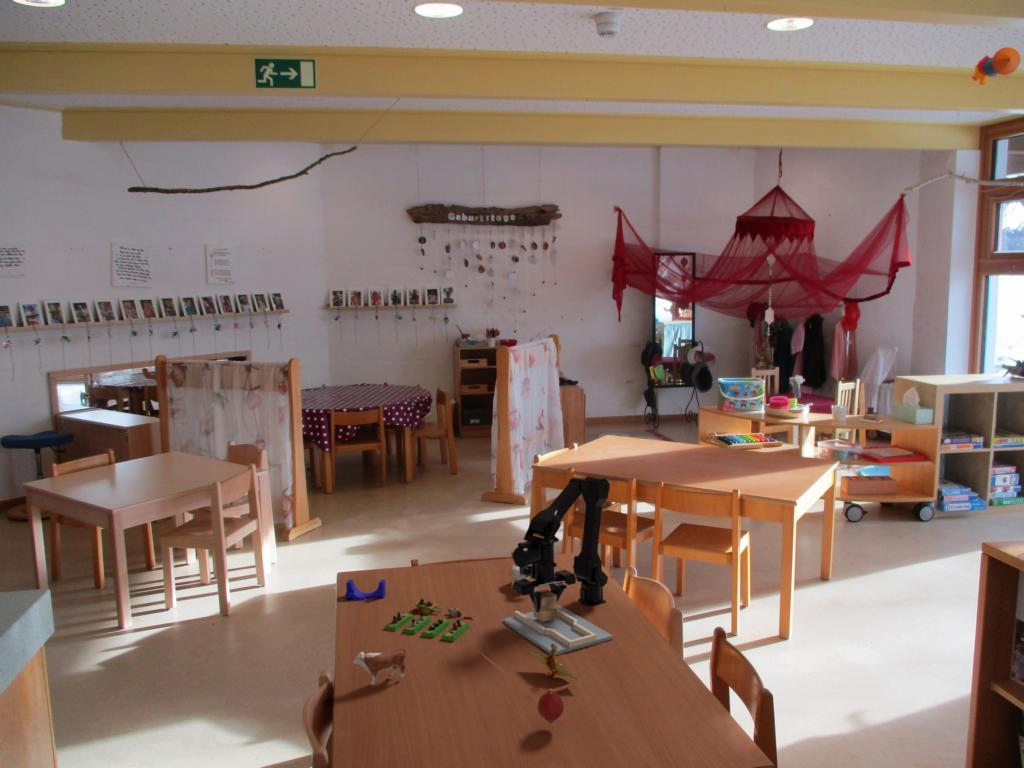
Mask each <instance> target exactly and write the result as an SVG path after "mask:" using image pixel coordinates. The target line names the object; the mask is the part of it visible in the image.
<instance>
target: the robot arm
mask: <svg viewBox="0 0 1024 768" xmlns="http://www.w3.org/2000/svg"><path fill="white" fill-rule="evenodd" d="M610 488H611V485H610V482H609V481H608V479H607V478H603V477H598V476H595V475H594V476H592V475H587V476H585V478H583V477H576V476H575V477H574V476H573V477H571V478H570V479H569V481H568V484H567V485H566V486H565V487H564V488H563V490H562V491H561V492H560V493H559V494H558V496H557V497H556V498H555V499H554V501H552V503H551V504H550V505H549V506H548V507H547V508H545V509H543V510H540V511H539V512H538V513H536V514H535V515H534V516H533V517H532V519H531V520H530V523H529V526H528V528H527V529H526V532H525V534H524V537H523V540H524V542H522V541H521V542H518V543H517V547H516V548H515V549H514V550H513V553H512V559H513V562H514V564H515V565H516V567H519V571H520V574H521V575H525V576H526V577H529V578H530V579H532V580H531V581H530V580H526V579H521V580H518V579H517V580H516V581H514V583H513V586H512V591H514V592H516V593H517V594H519V595H521V596H529V598H530V600H531V602H532V604H533V605H534V608H535V610H536V612H537V613H539V610H540V599H541V593H540V592H539V591H540V590H539V587H544V586H548V585H549V588H550V591H551V592H552V593H554V594H556V595H557V603H558V601H559V599H561V595H562V594H563V593H564V591H565V589H567V588H568V586H570V585H575V584H576V582H577V583H579V582H580V588H579V598H578V599H577V600H578V601H579V602H580V603H582V604H584V605H586V606H588V607H593V606H597V605H601V604H605V603H607V601H606V600H605V599H604V587H605V586H606V585H607V584H608V579H609V577H608V576H607V574H606V573H605V572H604V570H602V569H603V567H602V565H603V564H602V559H601V557H600V555H599V552H598V551H599V549H598V548H599V540H600V539H599V538H600V532H601V531H600V530H601V520H602V519H601V518H602V509H603V505H604V504H605V503H606V501H607V500H608V498H609V494H610ZM580 496H582V498H583V502H584V503H585V508H584V509H585V510H584V521H583V530H582V531H583V532H582V533H583V534H582V541H581V550H580V552H579V553H578V555H575V556H574V558H573V566H572V570H573V572H572V571H569V570H567V569H562V570H557V571H555V568H557V563H556V562H555V543H557V542H559V541H560V538H559V537H557V536H556V534H557V533H558V531H559V530H560V528H561V526H562V519H563V518H564V516H565V515H566V513H567V512H568V511H569V510H570V509H571V507H573V505H574V504H575V502H576V501H577V500H578V499H579V497H580ZM535 535H536V536H535ZM531 564H532V565H531ZM528 565H530V566H528ZM567 585H568V586H567ZM533 605H532V606H533Z"/></svg>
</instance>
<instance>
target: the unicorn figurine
mask: <svg viewBox="0 0 1024 768" xmlns="http://www.w3.org/2000/svg"><path fill="white" fill-rule="evenodd" d="M531 565H532V564H531ZM528 566H530V565H528ZM509 570H510V576H511V584H510V585H511V586H512V587H513V583H514V582H515V581H517V580H521V579H526V580H528V581H530V580H529V579H530V576H529V577H526V576H525V575H521V574H520V571H519V567H518V566H515V565H514V564H513V565H512V566H510V569H509Z"/></svg>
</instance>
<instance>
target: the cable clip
mask: <svg viewBox="0 0 1024 768" xmlns="http://www.w3.org/2000/svg"><path fill="white" fill-rule="evenodd" d="M345 587H346V589H345V590H346V592H345V594H344V595H345V601H348V600H350V598H351V600H352V601H365V600H366V599H378V598H379V597H381V598H382V599H384V598H385V597H386V595H387V594H386V579H380V580H379V581H378V586H377V589H375V590H374V591H372V592H363V591H361V590H360V589H358V588H357V587H356V585H355V582H354V580H353V579H347V581H346V583H345Z"/></svg>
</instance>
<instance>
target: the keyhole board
mask: <svg viewBox="0 0 1024 768" xmlns="http://www.w3.org/2000/svg"><path fill="white" fill-rule="evenodd" d="M502 622H503V623H504V624H506V625H507V626H508V627H510V628H511V629H512V630H514V631H515V632H517V633H518V634H519V635H521V636H522V637H525V639H527V640H529V641H530V642H531V643H533V644H534V645H536V646H537V647H539V648H540V649H543V650H544V651H545V652H546V653H548V655H549V654H550V651H551V649H552V648H551V644H552V643H554V644H556V646H558V647H557V651H556V653H555V655H554V657H555V656H558V655H562V654H566V653H568V652H569V653H570V652H572V651H575V650H580V649H582V648H585V647H590V646H593V645H597V644H600V643H603V642H607V641H611V640H613V639H614V635H612V634H611V633H609V632H608V631H605V630H604V629H602V628H600V627H598V626H596V625H595V624H593V623H592V622H590V621H588V620H587V619H584V618H582V617H581V616H579V615H577V614H576V613H574V612H573V611H570V610H569V609H566V608H565V607H563V606H561V605H558V604H557V618H555V619H552V620H548V621H544V622H542V621H541V620H539V619H537V618H536V617H534V611H531V612H530V611H529V612H526V613H525V612H524V613H523V612H520V611H519V610H515V611H514V616H509V617H507V618H506V617H505V618H503V619H502Z"/></svg>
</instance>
